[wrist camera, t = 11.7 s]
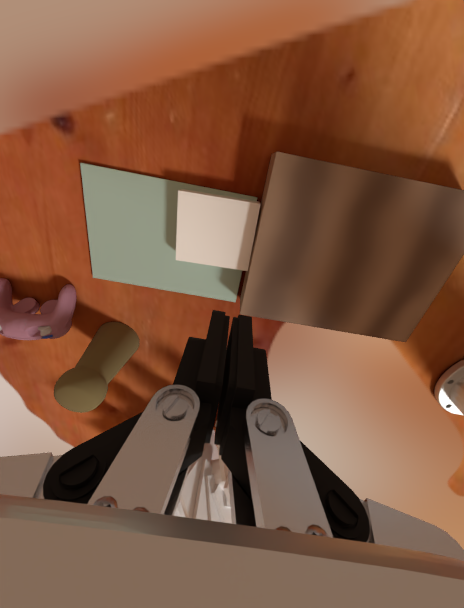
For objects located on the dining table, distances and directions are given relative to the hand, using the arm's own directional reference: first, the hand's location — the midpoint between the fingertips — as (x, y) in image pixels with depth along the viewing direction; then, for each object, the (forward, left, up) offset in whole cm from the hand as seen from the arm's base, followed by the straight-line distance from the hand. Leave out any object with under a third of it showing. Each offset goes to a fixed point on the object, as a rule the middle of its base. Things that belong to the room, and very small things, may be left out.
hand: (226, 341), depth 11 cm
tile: (+2, 0, -19) cm, 19 cm away
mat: (+8, +2, -19) cm, 21 cm away
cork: (+14, +18, -20) cm, 30 cm away
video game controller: (+23, +13, -20) cm, 33 cm away
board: (-12, 0, -19) cm, 23 cm away
